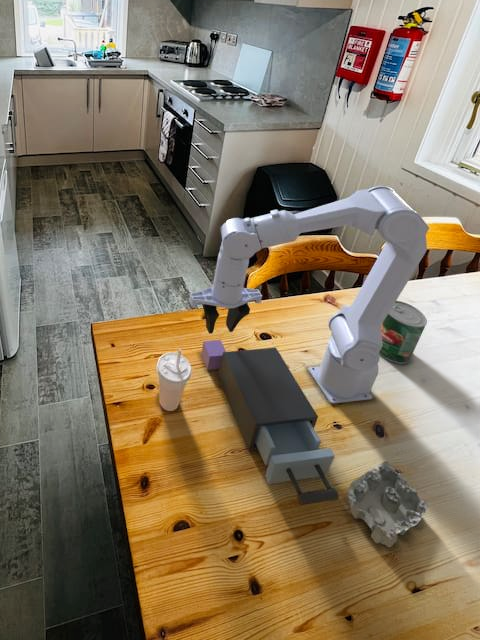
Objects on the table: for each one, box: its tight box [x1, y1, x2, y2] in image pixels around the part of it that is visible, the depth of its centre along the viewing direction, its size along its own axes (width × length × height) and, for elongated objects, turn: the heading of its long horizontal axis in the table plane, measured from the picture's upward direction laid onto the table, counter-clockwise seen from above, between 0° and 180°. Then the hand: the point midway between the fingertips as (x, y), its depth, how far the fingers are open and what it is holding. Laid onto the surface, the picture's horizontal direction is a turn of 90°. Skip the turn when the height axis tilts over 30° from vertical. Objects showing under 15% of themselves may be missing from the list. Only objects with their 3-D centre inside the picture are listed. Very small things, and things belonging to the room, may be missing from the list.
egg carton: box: [347, 460, 429, 548], centre depth 61 cm, size 11×8×4 cm
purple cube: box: [200, 339, 227, 371], centre depth 85 cm, size 4×4×4 cm
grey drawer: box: [255, 421, 339, 506], centre depth 68 cm, size 18×10×5 cm, turn 8°
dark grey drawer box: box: [217, 347, 319, 451], centre depth 75 cm, size 15×12×7 cm
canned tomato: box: [379, 300, 428, 365], centre depth 89 cm, size 8×8×11 cm
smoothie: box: [156, 348, 192, 412], centre depth 74 cm, size 6×6×14 cm
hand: (219, 329), depth 82 cm, fingers open, 4 cm apart
